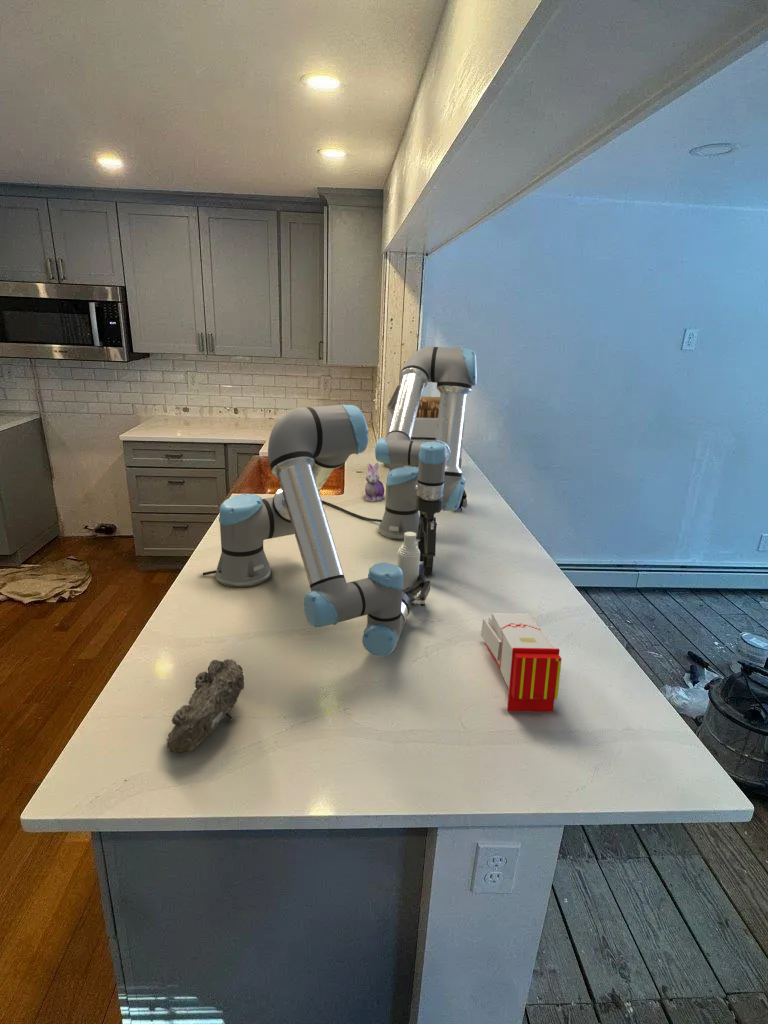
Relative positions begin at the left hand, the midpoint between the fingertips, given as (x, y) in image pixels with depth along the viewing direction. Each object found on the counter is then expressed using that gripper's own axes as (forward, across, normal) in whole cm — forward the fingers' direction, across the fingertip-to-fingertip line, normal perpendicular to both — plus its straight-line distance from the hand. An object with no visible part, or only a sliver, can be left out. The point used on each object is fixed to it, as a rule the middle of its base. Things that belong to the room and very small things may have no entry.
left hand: (411, 570), depth 157 cm
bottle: (-5, 0, -7) cm, 8 cm away
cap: (+13, +2, -5) cm, 14 cm away
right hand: (+13, +2, -5) cm, 14 cm away
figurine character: (+77, +4, -7) cm, 78 cm away
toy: (-30, +29, -7) cm, 42 cm away
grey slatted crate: (+122, -19, -7) cm, 123 cm away
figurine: (+76, -30, -7) cm, 82 cm away
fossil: (-62, -26, -7) cm, 67 cm away
